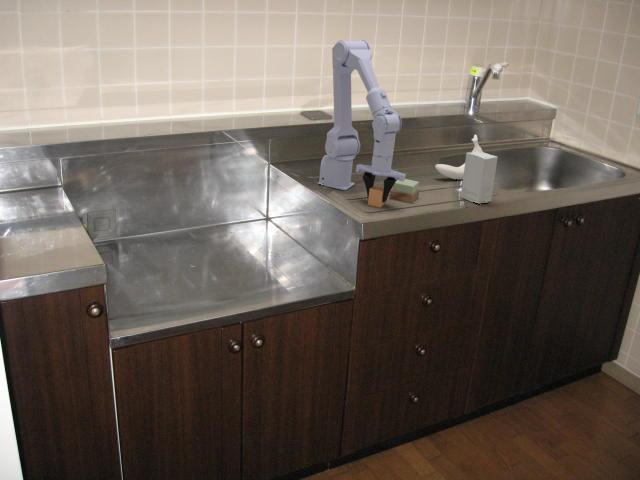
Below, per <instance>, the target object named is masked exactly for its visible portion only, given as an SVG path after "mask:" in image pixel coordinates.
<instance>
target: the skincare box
mask: <svg viewBox="0 0 640 480" xmlns="http://www.w3.org/2000/svg"><path fill="white" fill-rule="evenodd" d="M498 157H499V156H497V155H494V154H489V153H487V152H484V151H483V152H481V151H474V152H472V151H469V152H466V154H465V161H464V163H465V168H464V175H463V179H462V184H461V192H460V198H461V199H464V200H466V201H469V202H470V203H473V202H475V203H483V202H488V201H491V202H492V197H493V193H494V185H495V179H496V178H495V177H496V170H497V163H498ZM475 203H474V204H475Z"/></svg>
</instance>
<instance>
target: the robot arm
mask: <svg viewBox="0 0 640 480" xmlns="http://www.w3.org/2000/svg"><path fill="white" fill-rule="evenodd" d="M331 50H332V51H331V54H332V58H331V59H332V84H333V127H331V129H330V130H329V131H328V132H327V133H326V141H325V144H324V150H325V153H326V154H324V156H323V157H322V158H321V162H320V168H319V180H318V182H317V185H319V184H321V185H320V186H323V185H324V187H328V188H332V189H333V188H334V189H337V190H342V191H347V190H348V189H350V188H351V187H353V186H354V185H355V182H352V171H353V162H354V159H356V156H357V155H358V154H359V153H360V150H361V142H360V139H359V132H358V130H357V129H355V128H354V127H353V125H352V124H353V123H352V122H353V121H352V120H353V118H352V117H353V116H352V115H353V114H352V113H353V112H352V111H353V110H352V109H353V108H352V73H353V72H354V71H355V70H356V71H357V73H358V75H359V77H360V79H361V82H362V84H363V86H364V88H365V89H366V91H367V94H366V95H365V96H366V97H365V100H366V102H367V105H368V107H369V111H370V112H371V115H372V117H373V121H371V126H372V130H373V139H374V143H373V151H372V158H371V159H372V160H371V165H368V164H362V163H361V164H360V163H358V164H357V165H356V166H355V167H356V168H355V172H356V173H363V175H362V180H363V182H364V185H365V189H366V195H367V199H368V198H369V190H370V188H371V187H373V186H374V185H375V180H376V176H377V177H383V178H385V179H384V180H383V187H384V193H383V198H382V202H385V203H386V202H387V201H388V197H389V196H390V191H391V190H392V189H393V188H394V184H395V182H396V181H397V180H399V181H401V182H403V181H404V180H405V179H406V173H403V172H400V171H397V170H394V169H392V165H393V158H394V151H395V150H394V149H395V145H396V143H395V142H396V136H397V133H399V132H400V130H401V129H402V123H403V122H402V117H401V115H400V114H399V113H398V112H396V111H395V109H393V108H392V106H391V103H390V100H389V98H388V95H387V92H386V91H385V90H384V89H383V88H382V87H381V88H380V87H379V82H378V80H377V77H376V76H377V75H376V74H375V70H374V67H373V64H372V62H371V60H372V57H373V52H372V50H371V45H370V43H369V41H367V40H364V39H362V40H342V39H341V40H340V39H339V40H337V42H335V44H334V46H333V47H332V48H331Z"/></svg>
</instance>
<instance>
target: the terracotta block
mask: <svg viewBox="0 0 640 480" xmlns="http://www.w3.org/2000/svg"><path fill="white" fill-rule="evenodd" d="M383 193H384V186H380V185H375V184H374V185H373V187H371V188H370V190H369V198H367V199H368V200H367V205H368V206H373V207H377V208H382V207H383V206H385V204H386V202H382V198H383Z"/></svg>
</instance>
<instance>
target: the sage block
mask: <svg viewBox="0 0 640 480" xmlns="http://www.w3.org/2000/svg"><path fill="white" fill-rule="evenodd" d="M419 185H420V181H415V180H411V179H408V178H405V180H404V181H403V182H401V181H399V180H397V181H396V182H395V184H394V185H393V187H392V189H393V191H397V192H402V193H406V194H411V195H412V194H413V193H415V192H416V191H417V190H418V189H419Z"/></svg>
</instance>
